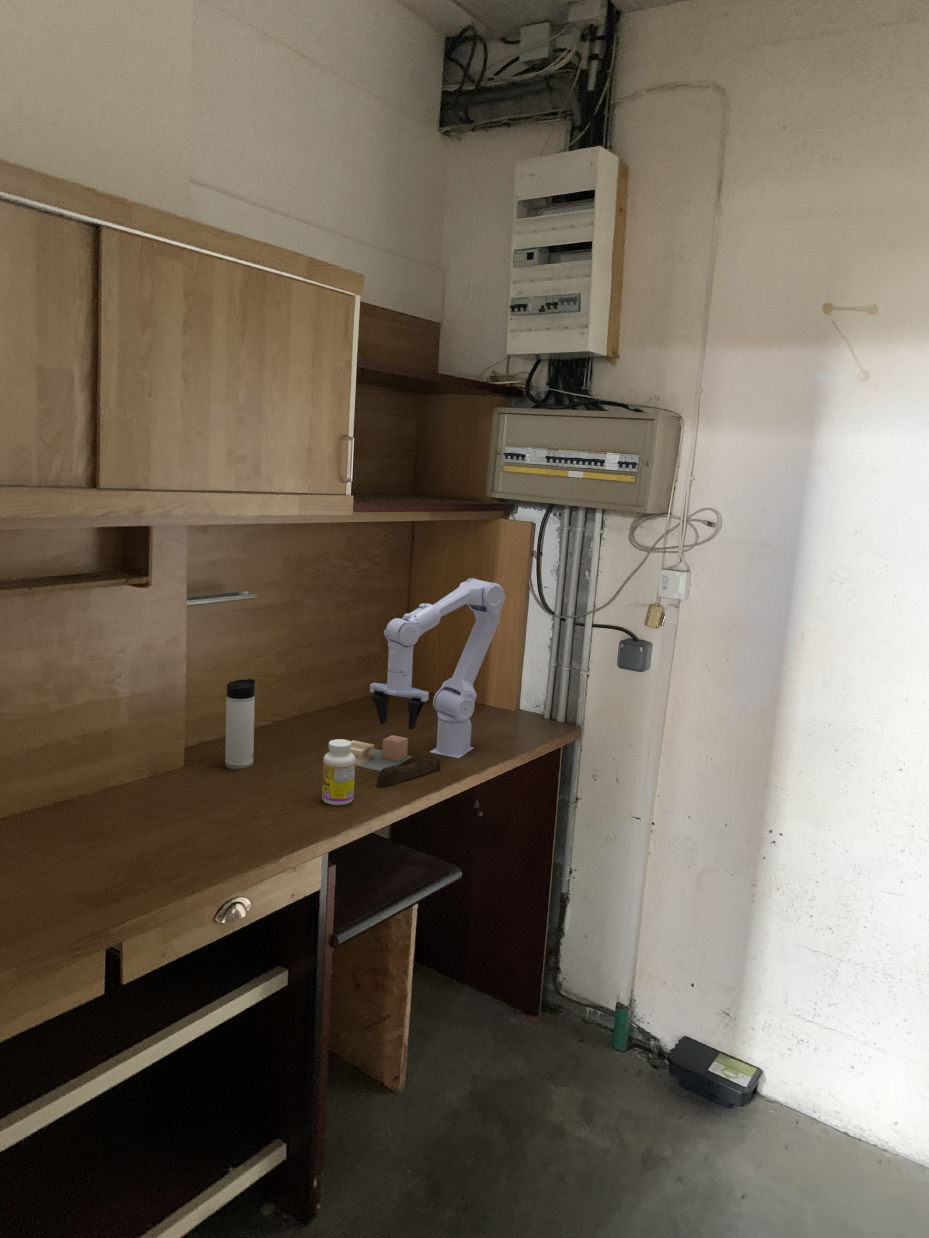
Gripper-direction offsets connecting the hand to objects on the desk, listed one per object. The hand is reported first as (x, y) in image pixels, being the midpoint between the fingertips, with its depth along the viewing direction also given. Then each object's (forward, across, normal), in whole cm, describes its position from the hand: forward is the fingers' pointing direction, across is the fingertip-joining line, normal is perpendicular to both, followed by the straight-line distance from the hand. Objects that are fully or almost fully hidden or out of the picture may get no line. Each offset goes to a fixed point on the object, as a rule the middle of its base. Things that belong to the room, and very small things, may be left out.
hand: (397, 725), depth 216 cm
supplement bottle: (+10, 0, -27) cm, 29 cm away
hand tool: (+10, +8, -8) cm, 15 cm away
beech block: (+9, -8, -4) cm, 13 cm away
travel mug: (+10, -30, -21) cm, 37 cm away
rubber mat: (+9, -5, -1) cm, 11 cm away
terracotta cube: (+9, -2, +3) cm, 10 cm away
